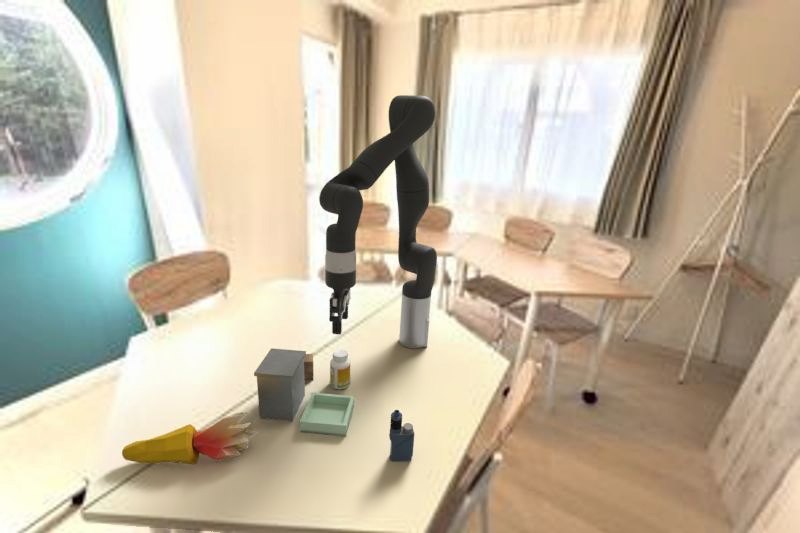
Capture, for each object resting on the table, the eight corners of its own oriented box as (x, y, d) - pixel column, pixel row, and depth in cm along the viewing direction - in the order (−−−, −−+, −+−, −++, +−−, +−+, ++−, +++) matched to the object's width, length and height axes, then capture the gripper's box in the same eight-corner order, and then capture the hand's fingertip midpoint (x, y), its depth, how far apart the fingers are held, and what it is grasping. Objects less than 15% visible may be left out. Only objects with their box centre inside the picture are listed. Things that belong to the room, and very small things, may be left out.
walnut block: (313, 372, 116) (313, 353, 114) (313, 380, 113) (313, 361, 111) (298, 373, 116) (298, 354, 114) (298, 381, 112) (297, 362, 110)
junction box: (306, 394, 107) (305, 351, 103) (294, 422, 97) (292, 376, 92) (273, 391, 107) (271, 348, 103) (257, 419, 97) (253, 372, 93)
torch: (134, 475, 85) (259, 444, 90) (116, 489, 77) (254, 455, 83) (130, 434, 86) (254, 406, 91) (111, 444, 78) (248, 413, 84)
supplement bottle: (353, 380, 113) (354, 350, 110) (344, 391, 109) (345, 360, 105) (335, 376, 115) (335, 345, 112) (326, 387, 110) (326, 355, 107)
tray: (354, 406, 103) (354, 396, 102) (346, 436, 93) (346, 425, 92) (312, 402, 104) (312, 392, 103) (300, 432, 94) (299, 421, 93)
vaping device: (387, 453, 89) (390, 407, 85) (411, 452, 90) (415, 407, 86) (388, 462, 87) (391, 415, 83) (413, 461, 87) (416, 415, 83)
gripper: (350, 277, 94) (349, 340, 99) (360, 258, 107) (359, 314, 112) (318, 275, 94) (319, 338, 99) (332, 256, 107) (332, 312, 113)
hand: (340, 325), depth 106 cm, fingers open, 8 cm apart
